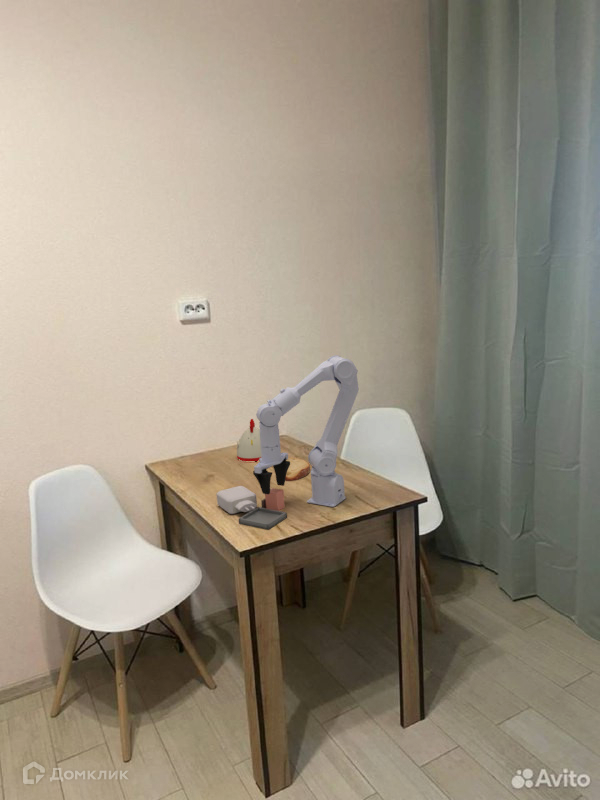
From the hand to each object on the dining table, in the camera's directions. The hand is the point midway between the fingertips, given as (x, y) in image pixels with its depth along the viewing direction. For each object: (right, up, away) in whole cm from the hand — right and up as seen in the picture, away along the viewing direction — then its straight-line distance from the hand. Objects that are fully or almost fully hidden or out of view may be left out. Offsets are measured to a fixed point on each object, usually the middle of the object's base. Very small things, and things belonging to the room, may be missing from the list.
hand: (273, 489), depth 172 cm
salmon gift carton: (+1, -6, +1) cm, 6 cm away
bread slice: (+5, +1, +35) cm, 35 cm away
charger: (-10, -7, +2) cm, 12 cm away
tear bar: (-2, -6, +3) cm, 6 cm away
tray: (-3, -8, -7) cm, 11 cm away
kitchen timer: (-10, +4, +54) cm, 55 cm away
